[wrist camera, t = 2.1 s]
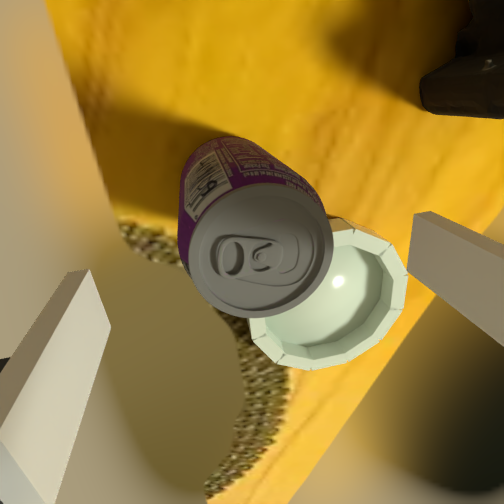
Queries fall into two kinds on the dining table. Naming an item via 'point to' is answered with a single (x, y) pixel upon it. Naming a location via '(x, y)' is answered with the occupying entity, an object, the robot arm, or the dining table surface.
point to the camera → (471, 68)
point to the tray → (339, 304)
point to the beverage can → (250, 230)
